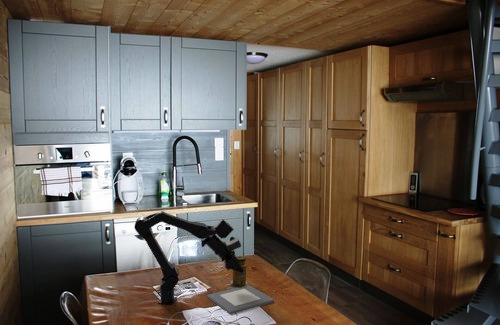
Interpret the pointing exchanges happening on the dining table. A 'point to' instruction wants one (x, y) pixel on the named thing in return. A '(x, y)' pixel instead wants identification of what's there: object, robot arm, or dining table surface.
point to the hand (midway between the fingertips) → (241, 269)
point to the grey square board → (239, 299)
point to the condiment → (240, 275)
